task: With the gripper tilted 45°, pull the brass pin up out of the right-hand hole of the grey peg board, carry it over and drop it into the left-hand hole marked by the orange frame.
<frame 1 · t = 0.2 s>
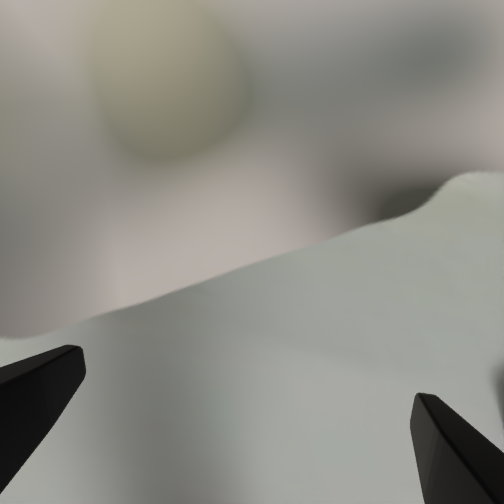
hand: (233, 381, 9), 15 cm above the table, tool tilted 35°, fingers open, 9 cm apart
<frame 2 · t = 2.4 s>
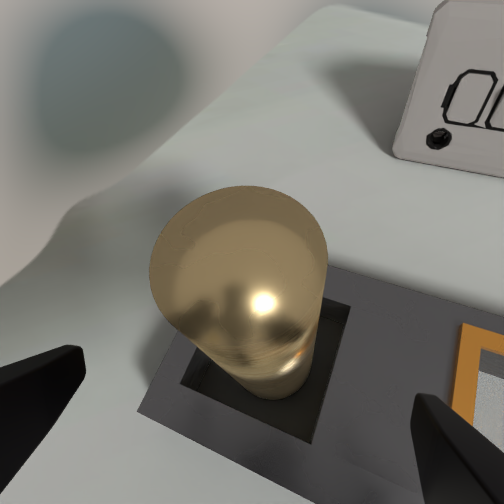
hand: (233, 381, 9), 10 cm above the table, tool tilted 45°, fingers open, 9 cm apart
brass pin: (272, 357, 18), resting in grey peg board
electrical switch: (457, 146, 24), on the table
grey peg board: (382, 400, 17), on the table
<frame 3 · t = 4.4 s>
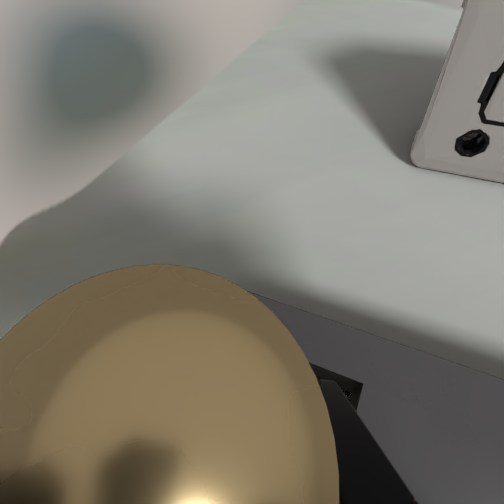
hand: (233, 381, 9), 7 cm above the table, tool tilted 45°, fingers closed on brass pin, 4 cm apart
brass pin: (255, 438, 14), resting in grey peg board, touching gripper
electrical switch: (490, 152, 20), on the table
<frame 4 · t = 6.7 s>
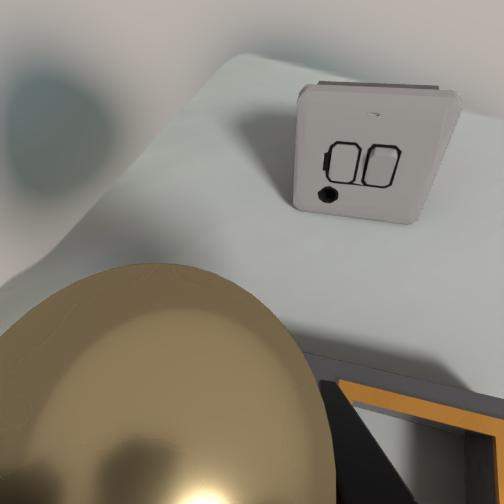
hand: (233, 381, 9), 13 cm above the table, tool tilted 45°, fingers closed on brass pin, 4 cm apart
brass pin: (254, 437, 14), point 6 cm above the table, touching gripper
electrical switch: (351, 193, 27), on the table
grey peg board: (288, 450, 19), on the table
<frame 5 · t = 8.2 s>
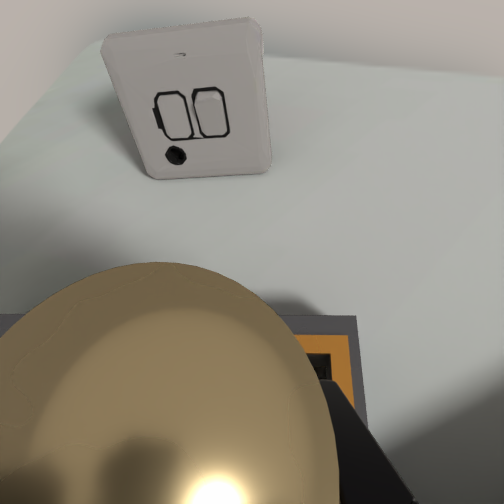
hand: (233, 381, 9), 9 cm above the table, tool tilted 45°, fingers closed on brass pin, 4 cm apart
brass pin: (255, 437, 14), point 3 cm above the table, touching gripper
electrical switch: (211, 154, 26), on the table
grey peg board: (147, 426, 17), on the table
when the fingers open (8 cm above the table, at t = 9.2 s): brass pin drops 1 cm, resting in grey peg board.
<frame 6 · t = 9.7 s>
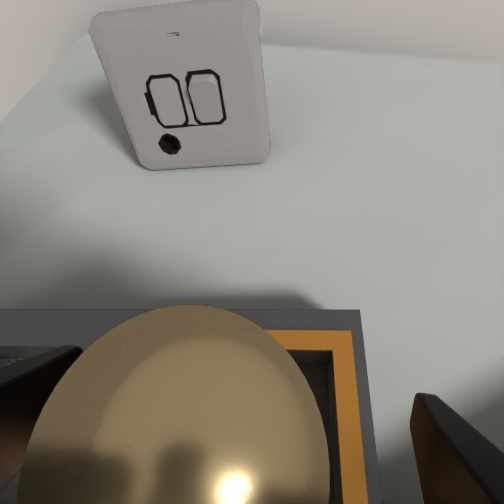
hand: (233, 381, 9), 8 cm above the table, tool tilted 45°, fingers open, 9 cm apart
brass pin: (260, 438, 15), resting in grey peg board
electrical switch: (207, 144, 25), on the table
grey peg board: (136, 429, 16), on the table
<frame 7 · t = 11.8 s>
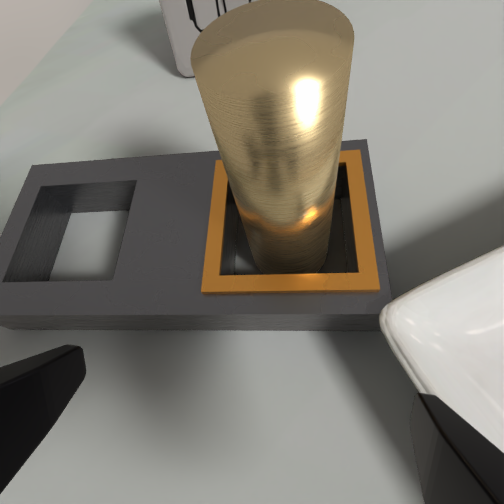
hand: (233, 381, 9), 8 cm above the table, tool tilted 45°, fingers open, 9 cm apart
brass pin: (289, 247, 19), resting in grey peg board
electrical switch: (233, 57, 29), on the table
grey peg board: (191, 249, 20), on the table
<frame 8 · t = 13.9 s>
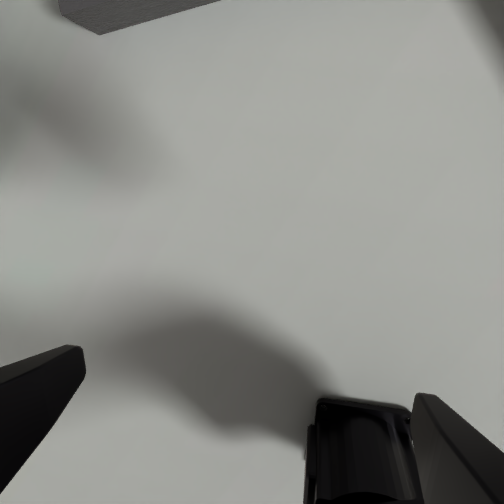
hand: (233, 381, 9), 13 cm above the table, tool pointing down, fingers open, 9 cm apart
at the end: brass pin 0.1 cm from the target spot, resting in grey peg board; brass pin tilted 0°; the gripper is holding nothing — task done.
